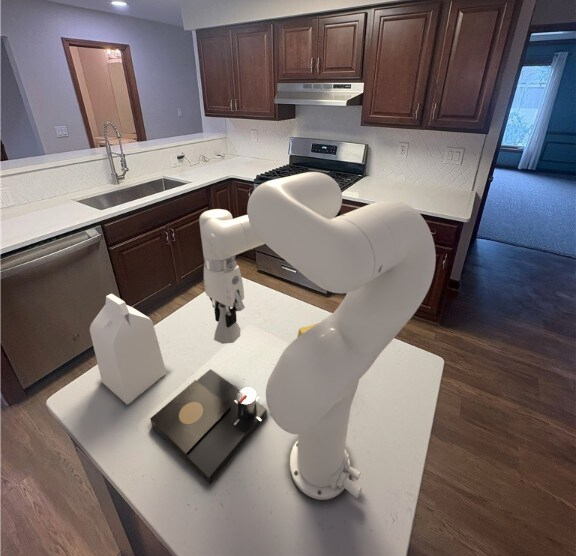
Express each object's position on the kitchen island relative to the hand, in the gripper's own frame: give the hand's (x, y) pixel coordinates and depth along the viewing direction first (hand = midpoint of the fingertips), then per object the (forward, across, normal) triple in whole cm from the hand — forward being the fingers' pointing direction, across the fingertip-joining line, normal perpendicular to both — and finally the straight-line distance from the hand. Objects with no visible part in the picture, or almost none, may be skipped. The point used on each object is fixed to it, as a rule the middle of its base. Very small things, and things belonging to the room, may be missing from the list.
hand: (226, 320), depth 82 cm
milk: (+16, +19, +18) cm, 31 cm away
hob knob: (+15, -14, +8) cm, 22 cm away
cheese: (+17, -19, -17) cm, 31 cm away
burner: (+15, -4, +16) cm, 22 cm away
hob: (+17, -7, +14) cm, 23 cm away
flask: (+5, 0, 0) cm, 5 cm away
